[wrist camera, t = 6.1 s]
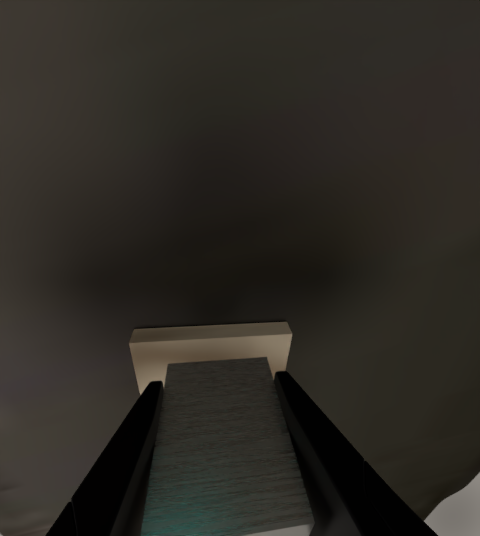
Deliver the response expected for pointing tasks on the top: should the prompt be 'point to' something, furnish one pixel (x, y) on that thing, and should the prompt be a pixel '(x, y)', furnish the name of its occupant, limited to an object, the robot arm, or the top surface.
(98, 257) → the top surface
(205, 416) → the shaft
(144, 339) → the bracket
